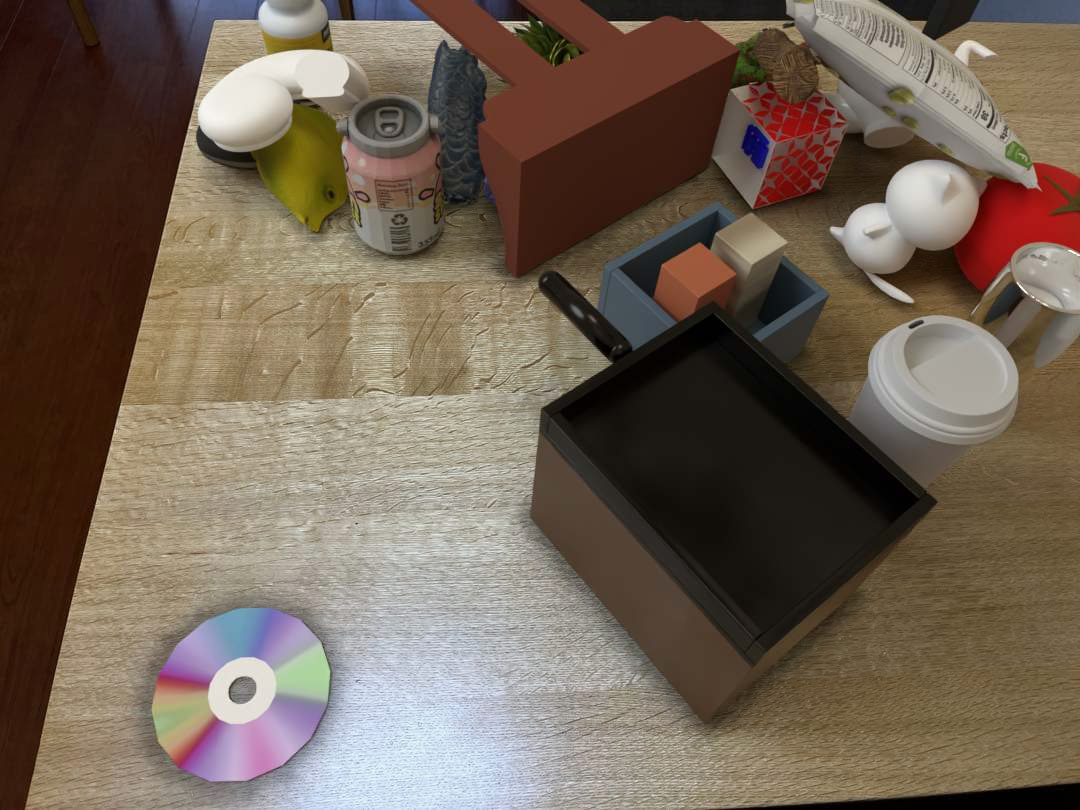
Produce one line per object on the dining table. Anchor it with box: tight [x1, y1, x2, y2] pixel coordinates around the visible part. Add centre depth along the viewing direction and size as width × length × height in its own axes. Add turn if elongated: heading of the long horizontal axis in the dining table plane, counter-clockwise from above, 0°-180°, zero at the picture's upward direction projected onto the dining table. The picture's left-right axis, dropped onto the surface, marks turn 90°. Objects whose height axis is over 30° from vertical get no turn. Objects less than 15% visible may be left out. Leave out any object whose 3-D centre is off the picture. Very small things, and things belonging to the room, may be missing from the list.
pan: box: [529, 269, 939, 725], centre depth 59 cm, size 28×15×15 cm, turn 38°
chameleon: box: [729, 20, 823, 103], centre depth 86 cm, size 7×30×16 cm
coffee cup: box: [847, 314, 1019, 489], centre depth 62 cm, size 10×10×15 cm
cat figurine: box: [829, 159, 987, 304], centre depth 76 cm, size 9×11×12 cm
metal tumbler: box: [966, 242, 1080, 387], centre depth 67 cm, size 7×7×15 cm
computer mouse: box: [195, 99, 300, 172], centre depth 83 cm, size 7×12×4 cm, turn 159°
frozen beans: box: [785, 0, 1042, 191], centre depth 75 cm, size 21×6×25 cm
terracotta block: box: [653, 243, 737, 323], centre depth 69 cm, size 4×4×10 cm
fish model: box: [427, 38, 488, 206], centre depth 85 cm, size 7×21×5 cm, turn 5°
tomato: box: [954, 162, 1080, 293], centre depth 76 cm, size 14×13×10 cm
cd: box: [151, 607, 332, 783], centre depth 57 cm, size 11×11×1 cm
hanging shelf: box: [408, 0, 740, 278], centre depth 82 cm, size 24×13×30 cm
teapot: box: [817, 39, 1000, 149], centre depth 88 cm, size 10×20×9 cm
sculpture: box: [197, 50, 371, 152], centre depth 73 cm, size 12×15×8 cm
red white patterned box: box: [711, 81, 849, 210], centre depth 83 cm, size 8×8×8 cm
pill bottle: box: [257, 0, 334, 107], centre depth 85 cm, size 6×6×12 cm
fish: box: [250, 103, 349, 233], centre depth 81 cm, size 3×16×10 cm
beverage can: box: [336, 93, 446, 256], centre depth 75 cm, size 9×8×12 cm
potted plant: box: [495, 12, 584, 89], centre depth 84 cm, size 12×13×15 cm
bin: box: [596, 200, 831, 365], centre depth 72 cm, size 13×13×8 cm
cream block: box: [710, 212, 789, 330], centre depth 71 cm, size 4×4×10 cm
